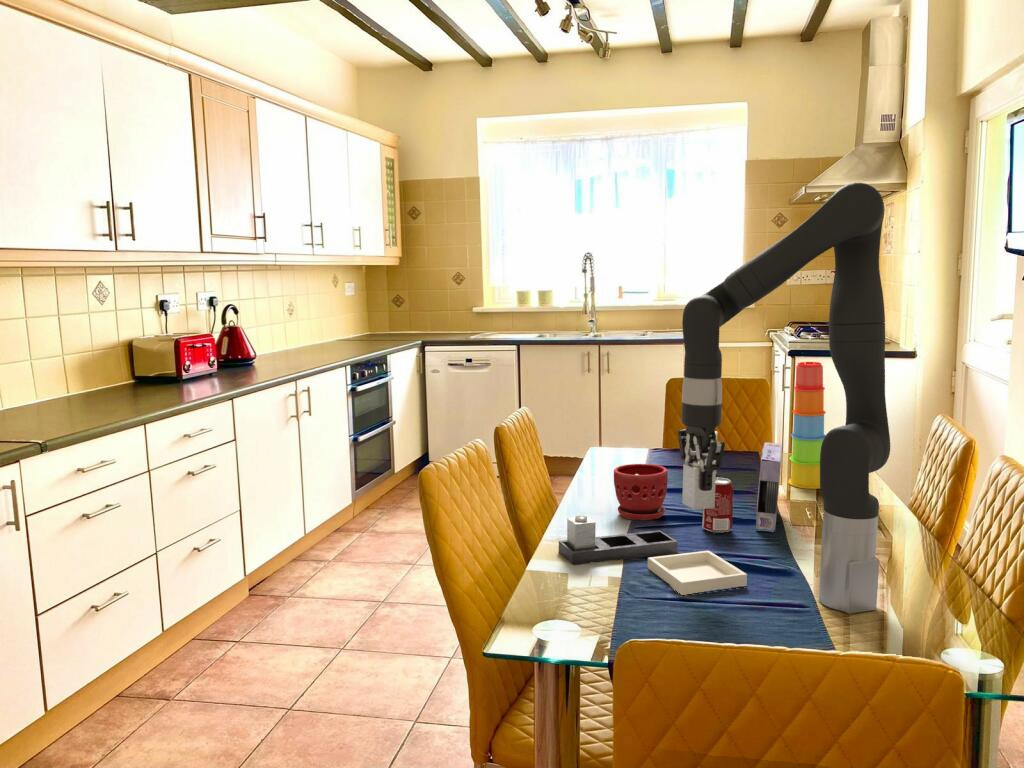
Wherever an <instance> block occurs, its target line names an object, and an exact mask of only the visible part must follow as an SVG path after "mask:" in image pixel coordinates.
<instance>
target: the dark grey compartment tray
mask: <svg viewBox="0 0 1024 768" xmlns="http://www.w3.org/2000/svg"><path fill="white" fill-rule="evenodd" d="M677 553H678V540H676V539H674V538H672V537H671V536H670V535H668V534H667V533H665V532H663V531H662V530H660V529H659V530H647V531H640V532H632V533H631V532H630V533H621V534H613V535H612V534H611V535H604V536H595V549H591V550H582V551H572V550H571V549H570V548H569V547H567V539H565V540H559V541H558V554H560V555H561V556H562V557H563V558H564V559H565V560H566V561H567V562H568V563H570V565H572V566H576V565H577V566H579V565H586V564H595V563H604V562H612V561H621V560H622V561H623V560H627V559H628V560H630V559H637V558H645V557H647V558H648V557H657V556H666V555H674V554H677Z"/></svg>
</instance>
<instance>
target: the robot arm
mask: <svg viewBox="0 0 1024 768" xmlns="http://www.w3.org/2000/svg"><path fill="white" fill-rule="evenodd" d="M884 203H885V202H884V200H883V197H882V194H881V193H880V192H879V191H878V190H877V189H876V188H875V187H874V186H872V185H871V184H868V183H864V182H852V183H851V182H850V183H848V184H846V185H843V186H842V187H841V186H840V187H839V188H838V189H837V190H836V191H835V192H834V193H833V194H832V195H831V196H830V197H829V198H828V199H827V200H826V201H825V202H824V203H823V204H822V205H821V206H820V207H819V208H818V209H817V210H816V211H815V212H814V213H813V214H811V216H809V217H808V218H807V219H806V220H805V221H804V222H802V223H801V224H799V226H797V227H796V228H795V229H793V230H792V231H790V233H788V234H787V235H785V236H784V237H783V238H781V239H779V240H778V241H777V242H775V243H773V244H771V245H770V246H769V247H767V248H766V249H764V250H763V251H762V252H760V253H759V254H757V255H755V256H754V257H752V258H751V259H750V260H748V261H746V262H745V263H744V264H742V265H741V266H739V267H738V268H737V269H735V270H734V271H732V272H731V273H730V274H728V276H726V278H725V279H724V280H723V281H722V282H721V283H719V284H718V285H716V286H715V287H712V289H710V290H709V291H707V292H705V293H704V294H702V295H700V296H696V297H693V298H692V299H690V300H689V301H688V302H687V303H686V304H685V306H684V308H683V313H682V321H681V322H682V323H681V324H682V336H683V337H682V338H683V344H684V345H683V347H684V359H683V360H684V361H683V363H684V365H683V381H682V388H681V389H682V390H681V412H680V413H681V414H680V415H681V416H680V418H681V419H680V420H681V421H680V422H681V424H682V425H684V426H686V427H685V429H678V431H677V435H678V444H679V445H678V446H679V453H680V455H679V456H680V459H681V460H684V464H686V463H693V462H694V461H700V468H701V475H700V489H701V490H702V491H710V490H711V489H712V474H713V471H715V470H716V471H720V470H721V465H722V461H723V455H724V451H725V446H726V443H725V441H719V440H718V439H717V440H716V434H715V431H716V428H717V427H719V426H721V424H722V412H723V411H722V410H723V409H722V408H723V407H722V406H723V383H722V374H723V373H722V369H723V368H722V367H723V355H722V351H721V349H720V328H721V327H722V326H723V325H725V324H726V323H727V322H729V321H730V320H732V319H733V318H734V317H735V316H737V315H738V314H739V313H740V312H742V311H743V310H744V309H746V308H748V307H750V306H752V305H754V304H756V303H757V302H758V301H760V300H762V299H763V298H764V297H766V296H767V295H769V294H770V293H772V292H773V291H775V290H776V289H778V288H779V287H780V286H782V285H783V284H784V283H785V282H787V281H788V280H790V279H791V278H792V277H793V276H795V274H797V273H798V272H799V271H800V270H801V269H803V268H804V267H805V266H806V265H808V264H809V263H810V262H811V261H813V260H815V259H816V258H817V257H819V256H821V255H822V254H824V253H825V252H827V251H829V250H830V249H832V248H833V252H834V276H833V283H832V288H831V293H830V294H831V295H830V302H829V303H830V304H829V315H828V316H829V317H828V340H829V341H828V342H829V354H830V357H831V360H832V363H833V365H834V367H835V370H836V372H837V375H838V377H839V380H840V381H841V384H842V387H843V390H844V391H843V392H844V395H845V396H844V397H845V405H846V407H845V409H846V410H845V424H844V425H840V426H838V427H834V428H832V429H831V430H829V431H828V432H827V433H826V434H825V435H826V436H825V437H824V439H823V442H822V445H821V451H820V488H819V490H820V495H821V498H822V500H823V509H822V510H823V513H822V530H821V547H820V548H821V549H820V564H819V565H820V566H819V581H818V582H819V584H818V585H819V587H818V601H819V602H820V603H821V604H822V605H824V606H825V607H828V608H830V609H833V610H837V611H840V612H844V613H846V614H857V613H862V612H869V611H876V610H877V605H878V589H879V575H880V574H879V573H880V559H879V558H877V557H876V555H877V553H876V551H877V539H878V538H877V536H878V527H879V526H878V524H879V512H880V511H879V510H880V503H879V499H878V498H877V497H876V496H875V495H872V494H870V486H869V485H870V480H869V479H870V474H871V473H874V472H877V471H878V470H880V469H882V468H883V467H884V466H885V465H886V464H887V462H888V460H889V458H890V455H891V436H890V427H889V420H888V418H889V417H888V411H887V409H888V408H887V403H886V402H887V401H886V361H885V360H886V357H885V355H886V353H885V352H886V351H885V350H886V313H885V302H884V301H885V300H884V293H883V287H882V286H883V285H882V279H881V272H880V249H881V248H880V247H881V240H882V239H881V237H882V229H883V222H884V218H885V204H884ZM705 453H708V455H703V454H705ZM694 455H695V456H694ZM705 459H707V462H706V465H705ZM714 460H716V462H715V464H714Z"/></svg>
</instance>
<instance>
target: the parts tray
mask: <svg viewBox="0 0 1024 768" xmlns="http://www.w3.org/2000/svg"><path fill="white" fill-rule="evenodd" d="M647 569H648V570H650V571H651V572H652V573H653V574H655V575H657V577H659V578H661V579H662V581H665V582H666V583H667V584H669V585H670V588H671V587H672V588H673V589H674V590H673V589H672V588H671V589H672V590H673V591H675V590H676V591H677V592H678V593H677V592H676V591H675V592H676V593H677V594H679V593H680V594H681V595H685V596H687V595H686V594H692V593H698V592H704V591H710V590H717V589H724V588H731V587H738V586H747V584H748V583H747V582H748V574H747V573H746V572H744V571H743V570H741V569H739V568H738V567H737V566H735V565H733V564H732V563H729V562H728V561H727V560H725V559H724V558H722V557H720V556H718V555H716V554H715V553H714V552H712V551H710V550H702V551H701V550H700V551H693V552H684V553H678V554H677V553H674V554H666V555H657V556H649V557H647ZM747 587H748V586H747ZM680 594H679V595H680ZM681 595H680V596H681ZM692 595H693V594H692Z"/></svg>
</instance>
